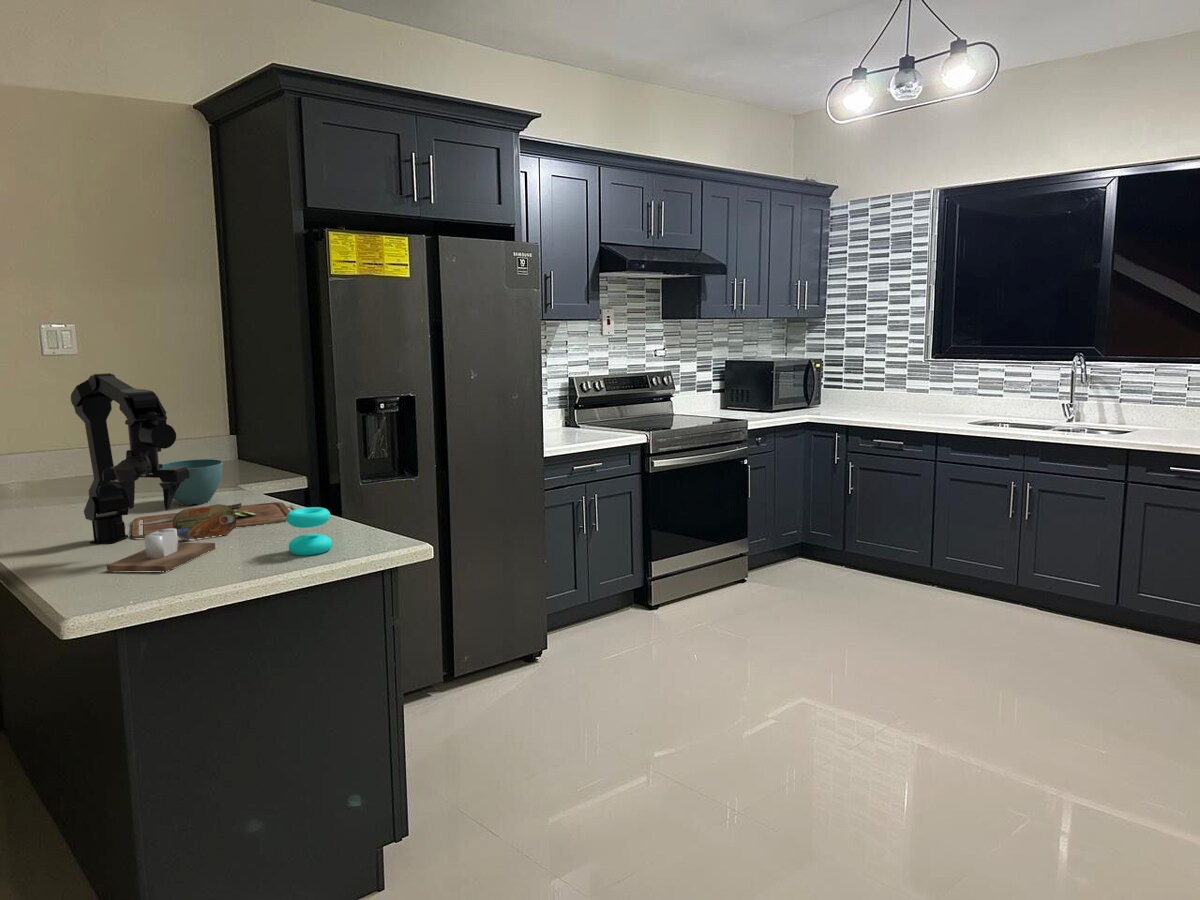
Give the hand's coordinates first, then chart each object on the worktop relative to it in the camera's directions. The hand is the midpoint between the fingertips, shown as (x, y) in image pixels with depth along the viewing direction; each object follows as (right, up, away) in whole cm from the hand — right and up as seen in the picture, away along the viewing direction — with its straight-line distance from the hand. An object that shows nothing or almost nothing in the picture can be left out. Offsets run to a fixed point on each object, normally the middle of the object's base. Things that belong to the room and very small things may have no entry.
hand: (149, 509), depth 205 cm
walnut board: (+5, -12, -4) cm, 13 cm away
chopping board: (-1, -7, +36) cm, 37 cm away
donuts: (+38, -10, +1) cm, 40 cm away
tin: (+6, -9, +17) cm, 20 cm away
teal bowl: (-18, -3, +61) cm, 64 cm away
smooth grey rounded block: (+5, -10, -4) cm, 12 cm away
